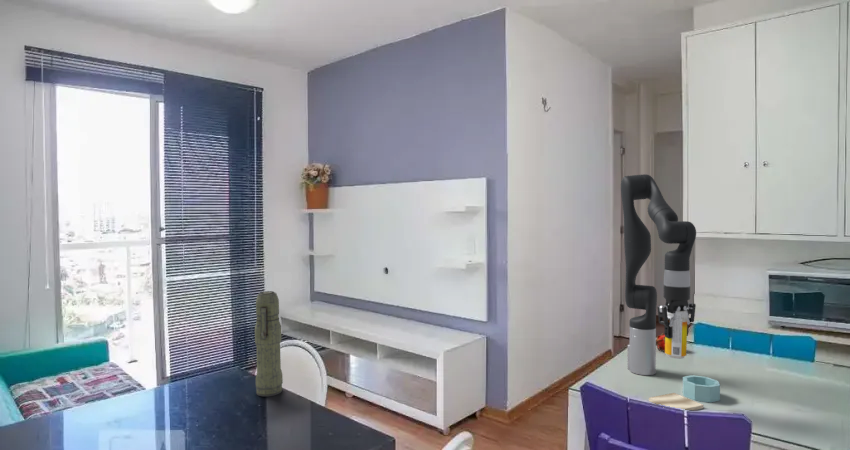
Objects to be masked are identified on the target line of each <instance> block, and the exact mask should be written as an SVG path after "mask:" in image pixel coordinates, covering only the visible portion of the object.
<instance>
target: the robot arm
mask: <svg viewBox="0 0 850 450" xmlns="http://www.w3.org/2000/svg"><path fill="white" fill-rule="evenodd" d="M620 195H621V203H622V212H623V213H622V214H623V233H624V234H623V241H624V242H623V244H624V248H623V249H624V259H625V260H624V261H625V282H624V283H625V285H624V290H625V291H624V300H625V305H626V307H627V308H629V309H634V310H635V309H636V310H643V311H645V313H643V314H642V315H639V316H638V315H637V316H634V317H631V318H630V319H629V343H628V344H627V370H629V372H630V373H633V374H635V375H636V374H637V375H641V376H653V375H656V373H657V372H656V371H657V368H656V367H657V366H656V365H657V346H656V339H657V325H656V324H657V316H658V324H660V325H663V326H664V332H663V333H664V335H665V337H666V338H672V328H673V327H672V325H673V321H674V320H675V315H676V312H677V311H686V312H687V337H688V336H689V330H690V329H689V325H690V324H691V323H694V322H695V316H696V307H697V305H696V303H693V302H689V301H690V300H691V273H690V267H691V266H690V257H691V254H692V250H693V247H694V244H695V241H696V237H697V229H696V227H695V224H694V223H693V222H691V221H683V220H681V221H679V216H678V215H677V213H676V212H675V211H674V209H673V208H672V207H671V206H670V205H669V204H668V203H667V202H666V200H665V198H664V195H663V193H662V192H661V190H660V188H659V186H658V184H657V182H656V181H655V179H654V178H653V177H652V176H651V175H650V174H646V173H645V174H643V173H642V174H634V175H626V176H624V177H622V179H621V182H620ZM646 199H648V200H649V203H648V206H647V214H648V216H649V218H650V219H651V220H652V222H653V223H654V224H655V226H656V229H657V232H658V238H659V239H660V241H661V242H663V243H664V244H668V245H669V244H670V245H671V244H678V246H677V248H676V249H674V250H670V251H667V252H665V255H664V271H663V272H664V273H663V298H664V299H665V304H664V305H660V304H659V305H657V303H658V293H657V292H658V291H657V289H656V287H655V286H653V285H645V284H637V283H636V280H637V276H638V274H639V272H640V270H641V268H642V266H643V265H644V264H646V262H647V259H648V258H649V257H650V255H651V252H652V241H651V240H652V239H651V238H652V237H651V232H650V231H649V229H648V227H647V226H646V224H645V223H644V222H643V220H641V218H640V216H639V215H638V213H637V211H636V207H635V201H637V200H638V201H641V200H646ZM667 312H668V313H674V314H673V316H667ZM657 314H658V315H657ZM668 319H670V321H669V322H668Z"/></svg>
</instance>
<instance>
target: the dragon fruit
mask: <svg viewBox="0 0 850 450" xmlns="http://www.w3.org/2000/svg"><path fill="white" fill-rule="evenodd" d="M664 333H665V332H662V333H661V334H659V335H656V350H658V351H664V352H665V335H664Z"/></svg>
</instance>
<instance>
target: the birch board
mask: <svg viewBox="0 0 850 450" xmlns="http://www.w3.org/2000/svg"><path fill="white" fill-rule="evenodd" d="M648 402H651V403H653V404H655V403H656V404H655V405H657V404H661V405H665V406H670V407H675V408H681V409H685V410H692V411H697V410H701V409H704V408H705V407H704V404H703V403H700V402H699V401H695V400H693V399H690V398H688V397H685V396H684V395H680V394H678V393H676V392H672V393H666V394H661V395H656V396H651V397H648Z"/></svg>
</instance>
